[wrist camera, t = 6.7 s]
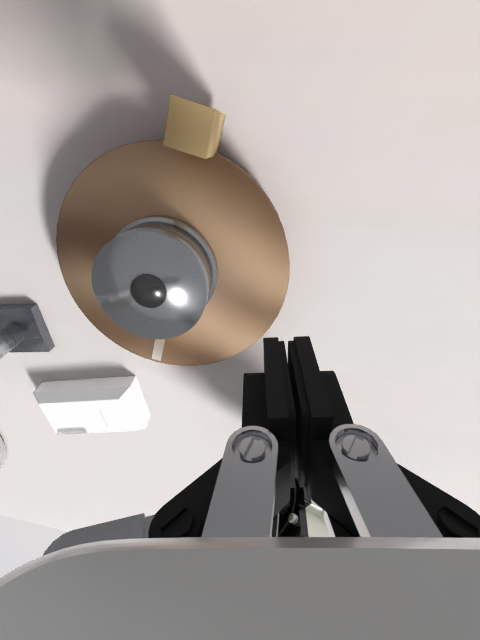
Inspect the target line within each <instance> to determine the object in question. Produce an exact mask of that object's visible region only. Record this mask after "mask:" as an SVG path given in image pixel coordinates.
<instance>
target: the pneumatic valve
mask: <svg viewBox="0 0 480 640" xmlns="http://www.w3.org/2000/svg"><path fill="white" fill-rule="evenodd" d="M277 537H330V536H329V533H328V530H327V527H326V524H325V521H324V518H323V513H322V508H321V507H319V506H318V505H317V504H316V503H315V502H313V501H312V499H307V493H306V487H299V481H298V474H297V467H296V459H295V485H294V488H290V501H289V502H288V503H287V504H286V505H285V506H284V507H283V508H282V509H281V511H280V512H279V522H278V535H277Z"/></svg>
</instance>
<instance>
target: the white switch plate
mask: <svg viewBox="0 0 480 640" xmlns="http://www.w3.org/2000/svg"><path fill="white" fill-rule="evenodd" d="M33 394H34V396H35V398H36V400H37V402H38V404H39V405H40V407H41V409H42V410H43V412H44V414H45V416H46V417H47V419H48V421H49V422H50V424H51V426H52V428H53V429H54V431H55V433H56V434H78V433H100V432H122V431H135V430H139V429H143V428H146V427H147V424H148V422H149V420H150V417H151V415H150V412H149V410H148V407H147V404H146V402H145V399H144V396H143V394H142V391H141V388H140V386H139V383H138V380H137V377H136V376H124V377H109V378H94V379H79V380H64V381H49V382H42V383H41V384H40V385H39V386H38V388H37V389H36V390H35V391H34V392H33Z"/></svg>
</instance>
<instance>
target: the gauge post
mask: <svg viewBox="0 0 480 640" xmlns="http://www.w3.org/2000/svg"><path fill="white" fill-rule="evenodd" d="M53 347H54V344H53V341H52V339H51V337H50V334H49V332H48V329H47V327H46V325H45V322H44V320H43V317H42V315H41V312H40V310H39V308H38V305H37V304H20V305H0V359H1V358H2V357H3V356H5V355H6V354H7V353H8V352H49V351H50V350H51V349H52V348H53Z"/></svg>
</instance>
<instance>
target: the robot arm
mask: <svg viewBox="0 0 480 640" xmlns="http://www.w3.org/2000/svg"><path fill="white" fill-rule="evenodd" d="M263 343H264V373H244V384H243V411H242V428H240V429H238V430H236V431H235V432H234V433H233V434H232V435H231V436H230V437H229V439H228V441H227V444H226V448H225V451H224V455H223V458H222V459H221V460H220V461H218V462H217V463H216V464H215V465H213V466H212V467H211V468H210V469H208V470H207V471H206V472H205V473H204V474H202V475H201V476H200V477H199V478H197V479H196V480H195V481H194V482H192V483H191V484H190V485H189V486H187V487H186V488H185V489H184V490H182V491H181V492H180V493H179V494H177V495H176V496H175V497H174V498H172V499H171V500H170V501H169V502H168V503H166V504H165V505H164V506H163V507H162V508H161V509H160V510H159V511H158V512H157V513H156V514H155V515H151V516H147V517H145V515H144V513H143V514H139V515H134V516H130V517H126V518H122V519H118V520H113V521H109V522H105V523H101V524H97V525H93V526H88V527H84V528H80V529H76V530H72V531H70V532H67V533H65V534H63V535H61V536H60V537H59V538H57V539H56V540H55V541H53V542H52V544H51V545H50V546H49V547H48V549H47V550H46V551H45V552H44V554H43V556H42V557H39V558H37V559H35V560H32V561H30V562H28V563H26V564H24V565H22V566H20V567H18V568H16V569H15V570H13V571H11V572H9V573H8V574H6V575H4V576H3V577H1V578H0V640H480V515H478V514H477V513H476V512H475V511H474V510H472V509H471V508H470V507H468V506H467V505H465V504H464V503H462V502H460V501H459V500H457V499H455V498H454V497H452V496H450V495H449V494H447V493H445V492H444V491H442V490H440V489H439V488H437V487H435V486H434V485H432V484H430V483H429V482H427V481H425V480H424V479H422V478H420V477H419V476H417V475H416V474H414V473H412V472H411V471H409V470H407V469H406V468H404V467H402V466H401V465H399V464H397V463H396V462H395V460H394V459H393V457H392V456H391V454H390V452H389V451H388V449H387V448H386V446H385V445H384V443H383V441H382V440H381V439H380V438H379V436H378V435H377V434H376V433H374V432H373V431H372V430H370V429H368V428H366V427H364V426H361V425H356V424H353V421H352V418H351V415H350V413H349V410H348V407H347V404H346V402H345V399H344V396H343V393H342V391H341V388H340V385H339V383H338V380H337V377H336V374H335V372H334V371H320V370H319V367H318V364H317V360H316V357H315V354H314V350H313V347H312V344H311V340H310V337H309V336H304V337H294V340H293V341H288V363H287V357H286V350H285V344H284V341H278V337H276V338H263ZM295 459H296V467H297V474H298V481H299V487H306V493H307V499H312V501H313V502H315V503H316V504H317V505H318V506H319V507H321V508H322V513H323V518H324V521H325V524H326V527H327V530H328V533H329V536H330V537H277V535H278V522H279V512H280V511H281V509H282V508H283V507H284V506H285V505H286V504H287V503H288V502H289V501H290V488H294V485H295ZM5 460H6V448H5V445H4V442H3V440H2V438H1V436H0V468H1V467H2V465H3V464H4V462H5Z"/></svg>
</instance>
